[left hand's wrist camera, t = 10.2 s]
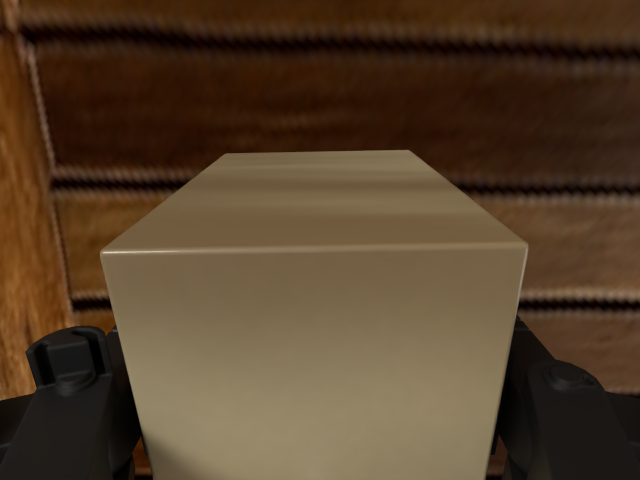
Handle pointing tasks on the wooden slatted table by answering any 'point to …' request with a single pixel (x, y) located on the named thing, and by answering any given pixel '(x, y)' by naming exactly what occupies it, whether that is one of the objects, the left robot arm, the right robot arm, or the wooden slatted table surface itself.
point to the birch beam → (317, 320)
